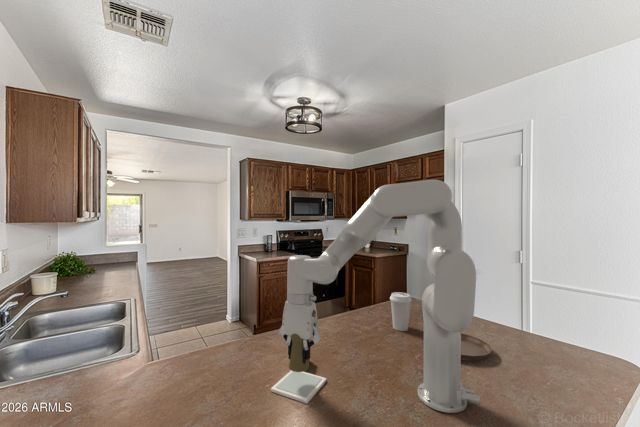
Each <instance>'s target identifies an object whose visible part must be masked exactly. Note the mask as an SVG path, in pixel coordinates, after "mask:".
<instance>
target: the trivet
mask: <svg viewBox="0 0 640 427" xmlns="http://www.w3.org/2000/svg"><path fill="white" fill-rule="evenodd" d="M326 382H327V378H326V377H323V376H320V375H316V374H313V373H310V372H306V371H303V372H294V371H292V370H290V371H289V372H287V373H286V374H285V375H284V376H282V378H281V379H280V380H279V381H277V382H276V383H275V384H274V385H273V386H272V387H271V388H270V392H272V393H275V394H278V395H280V396H284V397H287V398H289V399H292V400H295V401H297V402H301V403H304V404H305V405H306V404H308V403H309V402H310V401H311V400H312V399H313V398H314V396H315V395H316V394H317V393H318V392H319V390H320V389H321V388H322V387H323V386H324V384H326Z"/></svg>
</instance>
